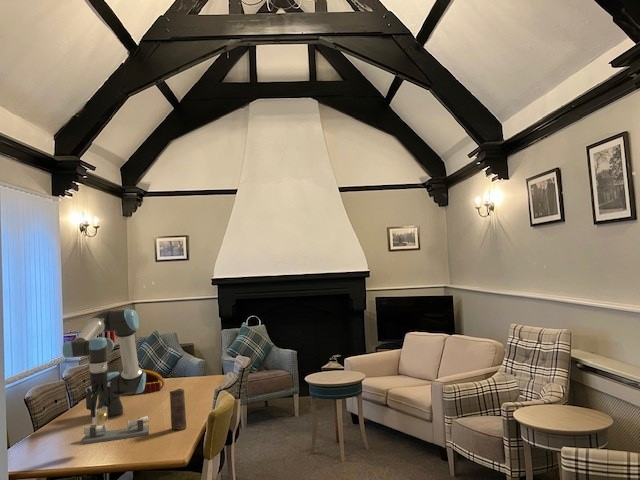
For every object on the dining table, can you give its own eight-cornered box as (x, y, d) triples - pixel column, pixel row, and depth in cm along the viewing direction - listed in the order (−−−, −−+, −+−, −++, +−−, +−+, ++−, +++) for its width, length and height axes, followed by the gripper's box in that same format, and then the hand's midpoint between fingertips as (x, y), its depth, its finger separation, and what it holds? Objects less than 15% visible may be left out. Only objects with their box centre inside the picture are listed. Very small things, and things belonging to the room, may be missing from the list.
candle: (172, 432, 257) (171, 391, 258) (169, 428, 263) (168, 389, 265) (187, 429, 260) (186, 389, 262) (184, 425, 267) (183, 386, 268)
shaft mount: (83, 444, 245) (82, 427, 245) (86, 436, 256) (85, 420, 257) (149, 434, 254) (148, 418, 255) (149, 428, 266) (148, 412, 266)
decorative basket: (106, 399, 344) (105, 378, 342) (125, 383, 373) (123, 363, 371) (156, 398, 342) (154, 376, 341) (170, 382, 371) (169, 362, 369)
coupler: (90, 423, 236) (90, 410, 236) (99, 420, 240) (99, 407, 240) (100, 425, 232) (100, 412, 232) (109, 422, 236) (108, 409, 236)
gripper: (86, 376, 227) (87, 429, 226) (120, 368, 242) (121, 417, 241) (76, 374, 231) (77, 426, 230) (110, 367, 246) (111, 416, 245)
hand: (100, 422), depth 236 cm, fingers closed on coupler, 4 cm apart
